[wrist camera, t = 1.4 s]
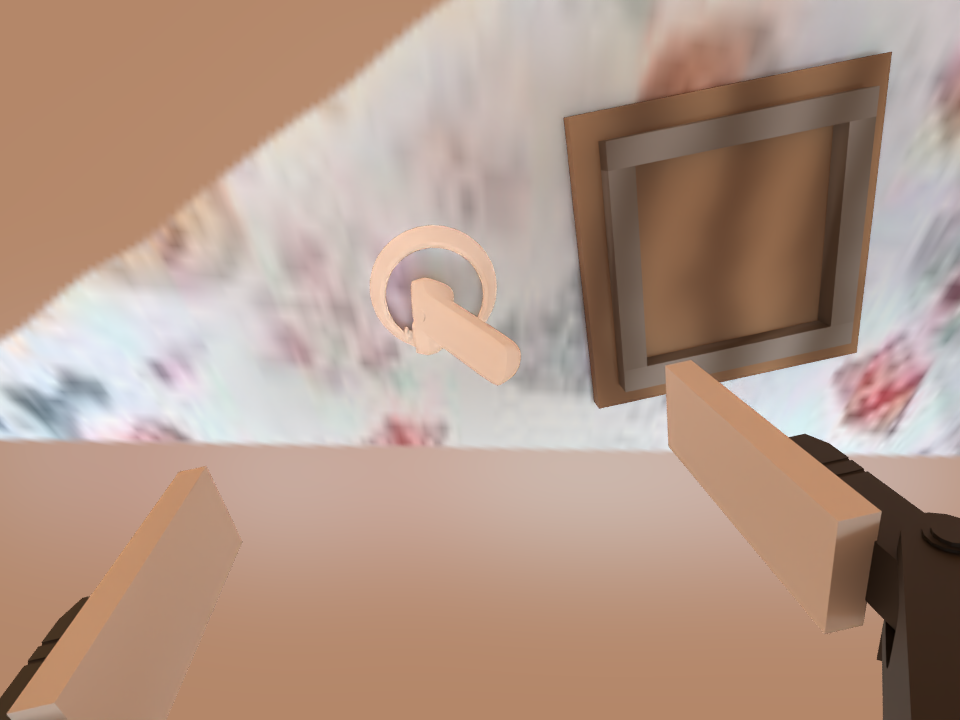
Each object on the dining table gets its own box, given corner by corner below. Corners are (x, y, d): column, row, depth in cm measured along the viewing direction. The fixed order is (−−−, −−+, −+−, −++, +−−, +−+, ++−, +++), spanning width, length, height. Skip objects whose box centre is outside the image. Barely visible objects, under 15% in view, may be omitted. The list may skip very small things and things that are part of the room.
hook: (585, 391, 30) (495, 450, 26) (452, 311, 37) (367, 348, 33) (604, 270, 25) (498, 320, 22) (449, 207, 33) (350, 235, 29)
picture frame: (876, 54, 29) (911, 48, 27) (845, 347, 36) (870, 359, 34) (563, 117, 29) (574, 115, 27) (594, 401, 36) (604, 417, 34)
